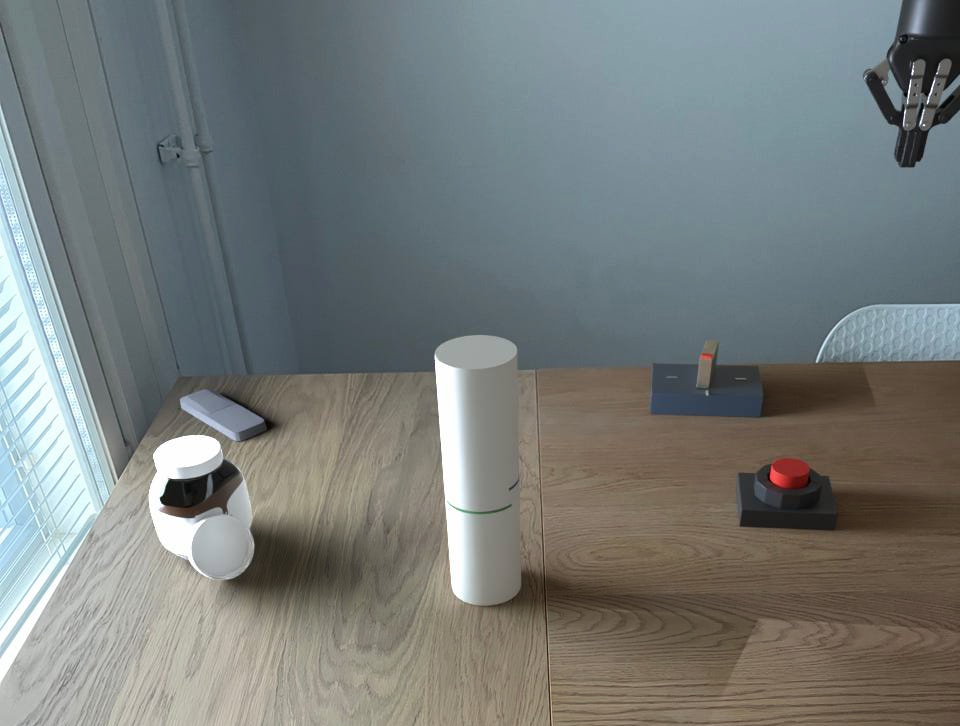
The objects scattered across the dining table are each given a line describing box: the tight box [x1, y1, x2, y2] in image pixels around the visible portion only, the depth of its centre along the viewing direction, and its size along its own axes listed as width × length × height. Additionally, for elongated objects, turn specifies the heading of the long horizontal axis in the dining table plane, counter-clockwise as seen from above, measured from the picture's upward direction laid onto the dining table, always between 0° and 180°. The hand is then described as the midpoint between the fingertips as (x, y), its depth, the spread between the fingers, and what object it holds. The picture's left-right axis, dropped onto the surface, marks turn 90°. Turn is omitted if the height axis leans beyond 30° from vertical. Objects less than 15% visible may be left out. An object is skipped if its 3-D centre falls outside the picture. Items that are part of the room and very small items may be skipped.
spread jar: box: [148, 434, 255, 581], centre depth 103 cm, size 12×11×12 cm
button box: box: [735, 462, 839, 532], centre depth 108 cm, size 10×8×4 cm
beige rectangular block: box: [697, 339, 720, 389], centre depth 127 cm, size 6×2×4 cm, turn 161°
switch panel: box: [649, 362, 764, 418], centre depth 129 cm, size 14×10×3 cm
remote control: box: [179, 388, 268, 442], centre depth 132 cm, size 5×2×15 cm
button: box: [770, 457, 811, 489], centre depth 106 cm, size 4×4×2 cm
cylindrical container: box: [434, 334, 522, 607], centre depth 93 cm, size 7×7×25 cm
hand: (905, 165), depth 109 cm, fingers closed
